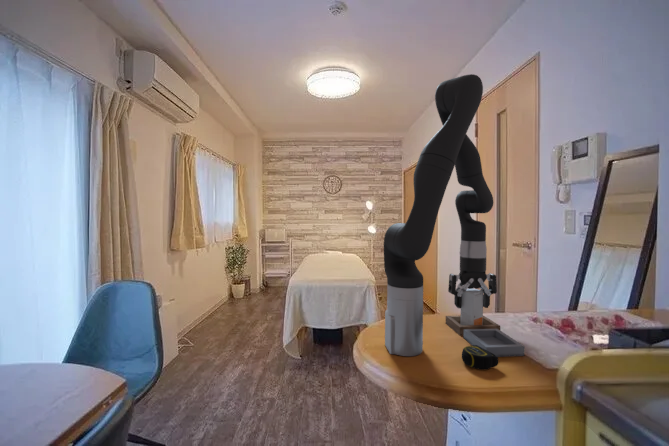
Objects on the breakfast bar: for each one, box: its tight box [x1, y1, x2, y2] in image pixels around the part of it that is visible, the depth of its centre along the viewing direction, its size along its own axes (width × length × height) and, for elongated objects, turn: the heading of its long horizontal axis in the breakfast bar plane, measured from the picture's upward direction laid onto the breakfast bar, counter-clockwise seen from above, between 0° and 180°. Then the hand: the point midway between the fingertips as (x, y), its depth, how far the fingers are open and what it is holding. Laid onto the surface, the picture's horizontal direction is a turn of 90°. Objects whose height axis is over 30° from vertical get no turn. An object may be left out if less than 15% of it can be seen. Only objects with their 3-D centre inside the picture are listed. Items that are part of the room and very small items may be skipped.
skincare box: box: [460, 288, 484, 325], centre depth 99 cm, size 6×4×12 cm
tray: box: [463, 329, 525, 358], centre depth 86 cm, size 10×12×2 cm
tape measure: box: [461, 345, 499, 371], centre depth 76 cm, size 7×7×4 cm
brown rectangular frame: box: [445, 314, 501, 336], centre depth 99 cm, size 12×10×2 cm
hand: (472, 307), depth 99 cm, fingers open, 8 cm apart
